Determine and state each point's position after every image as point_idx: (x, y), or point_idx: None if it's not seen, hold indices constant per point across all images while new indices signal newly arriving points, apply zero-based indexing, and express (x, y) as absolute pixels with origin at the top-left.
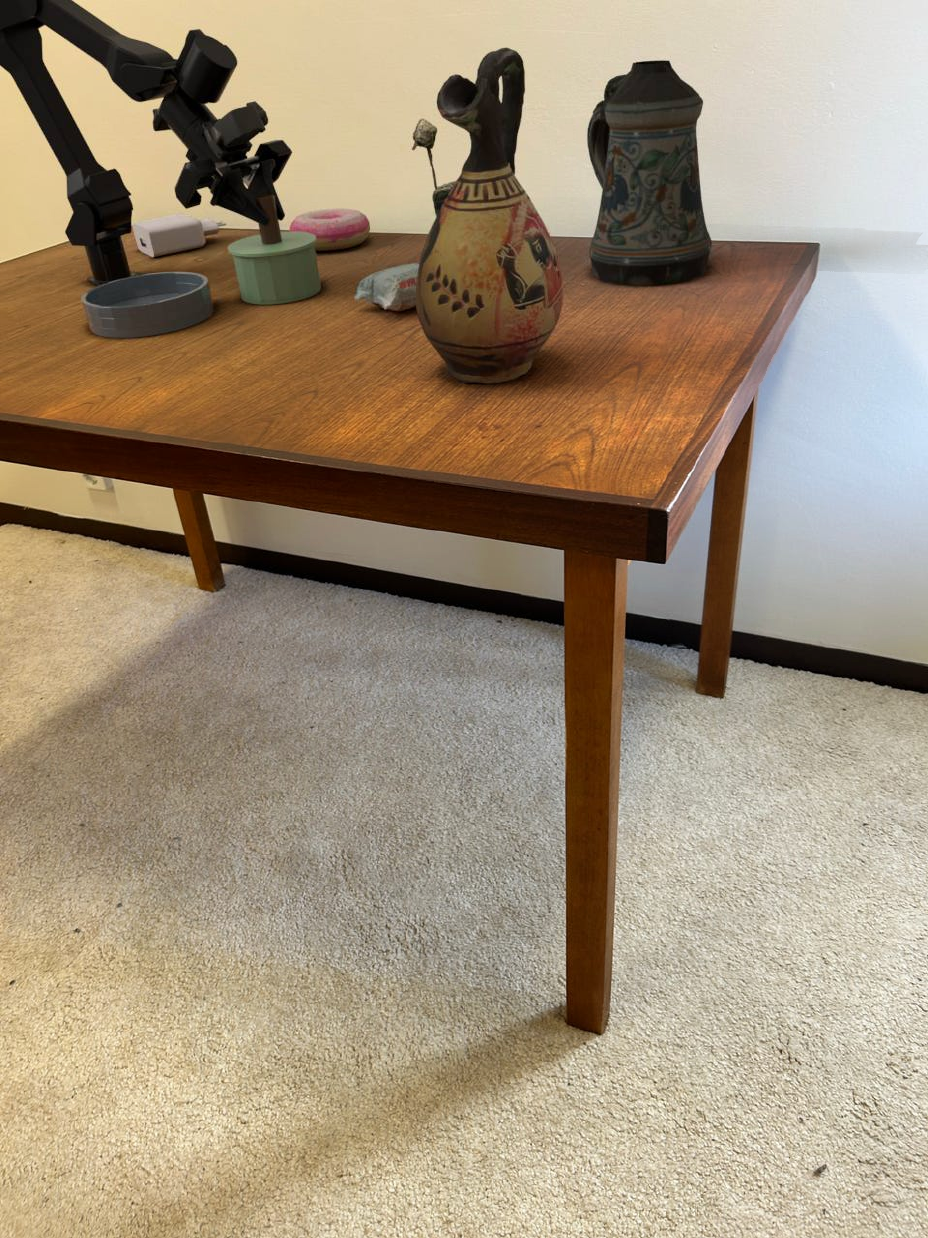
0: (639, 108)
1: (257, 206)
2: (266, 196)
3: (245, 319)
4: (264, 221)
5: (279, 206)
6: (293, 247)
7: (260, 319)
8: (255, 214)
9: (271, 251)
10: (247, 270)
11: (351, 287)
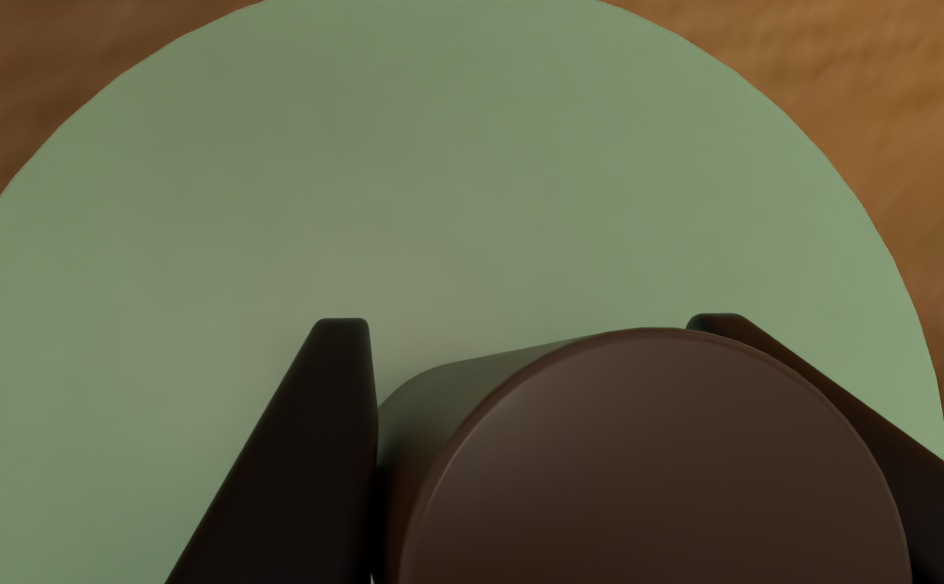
0: None
1: (914, 466)
2: (695, 466)
3: (935, 249)
4: None
5: (334, 407)
6: (594, 37)
7: (899, 155)
8: None
9: (797, 168)
10: None
11: (118, 3)
